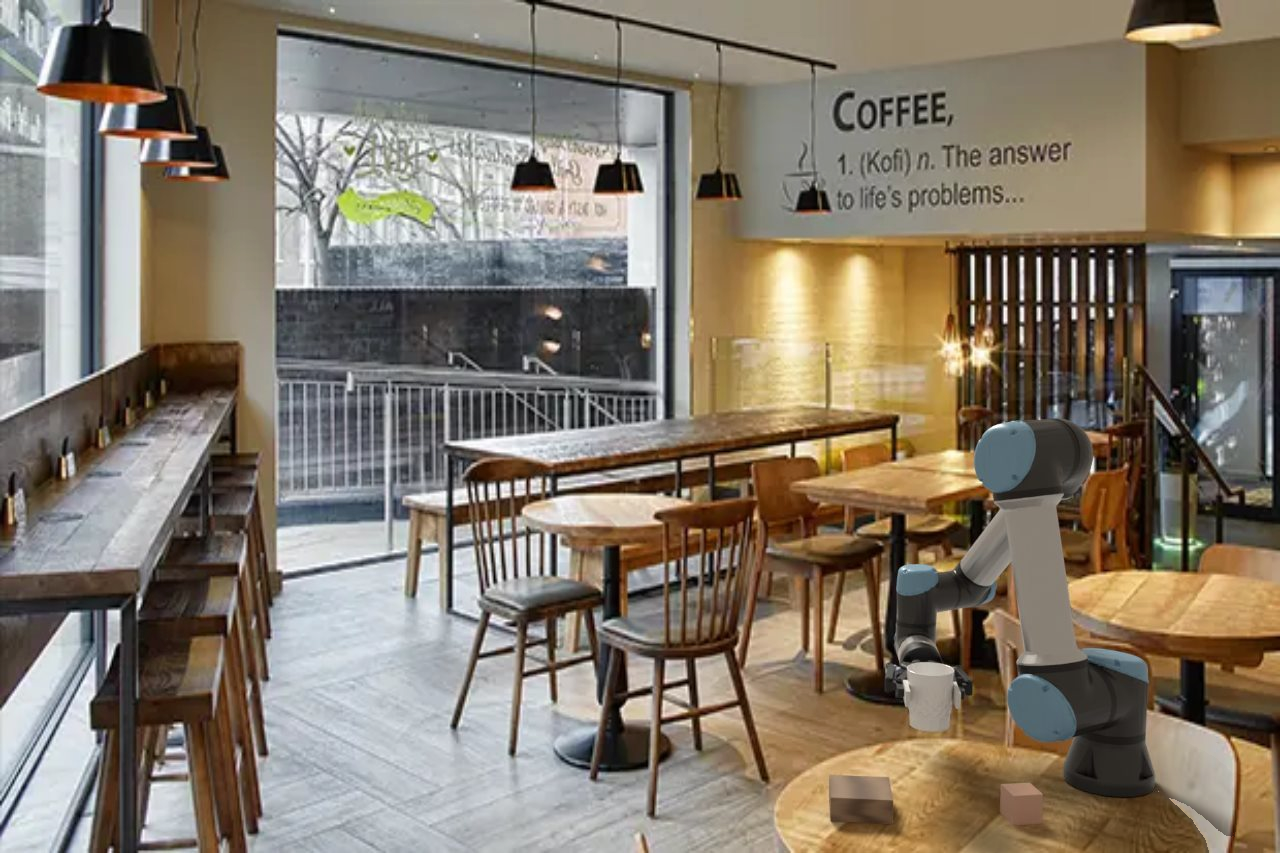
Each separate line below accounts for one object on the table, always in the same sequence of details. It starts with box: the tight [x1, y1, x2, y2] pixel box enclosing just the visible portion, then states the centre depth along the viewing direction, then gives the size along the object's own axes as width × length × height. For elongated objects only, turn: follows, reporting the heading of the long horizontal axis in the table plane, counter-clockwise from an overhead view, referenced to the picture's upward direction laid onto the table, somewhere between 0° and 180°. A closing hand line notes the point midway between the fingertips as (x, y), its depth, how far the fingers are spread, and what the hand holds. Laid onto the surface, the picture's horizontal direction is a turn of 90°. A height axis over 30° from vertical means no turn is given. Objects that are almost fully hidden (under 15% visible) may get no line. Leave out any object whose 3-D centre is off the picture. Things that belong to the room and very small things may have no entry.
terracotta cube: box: [999, 782, 1044, 826], centre depth 208 cm, size 5×5×5 cm
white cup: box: [907, 662, 954, 733], centre depth 217 cm, size 8×8×10 cm
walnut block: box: [828, 774, 894, 825], centre depth 212 cm, size 10×10×4 cm
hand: (933, 700), depth 213 cm, fingers closed on white cup, 7 cm apart
